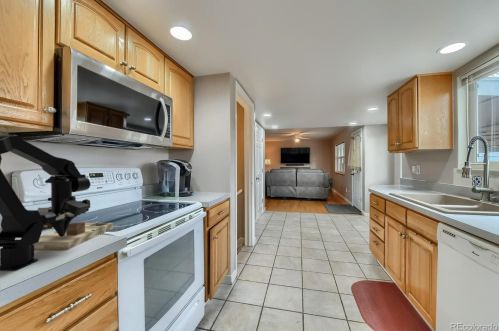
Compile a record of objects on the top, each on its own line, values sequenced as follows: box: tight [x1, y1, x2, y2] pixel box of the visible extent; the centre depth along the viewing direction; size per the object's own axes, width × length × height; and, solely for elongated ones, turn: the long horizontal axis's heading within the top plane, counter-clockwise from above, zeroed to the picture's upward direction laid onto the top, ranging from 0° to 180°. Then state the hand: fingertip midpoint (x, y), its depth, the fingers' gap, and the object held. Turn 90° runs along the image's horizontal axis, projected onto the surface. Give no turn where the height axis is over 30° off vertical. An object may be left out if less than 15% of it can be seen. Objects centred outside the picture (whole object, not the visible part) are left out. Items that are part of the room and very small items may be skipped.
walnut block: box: [67, 221, 86, 235], centre depth 85 cm, size 4×4×4 cm
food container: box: [37, 206, 53, 230], centre depth 102 cm, size 12×6×10 cm, turn 168°
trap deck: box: [33, 222, 114, 250], centre depth 88 cm, size 24×16×3 cm, turn 179°
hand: (62, 236), depth 78 cm, fingers closed
